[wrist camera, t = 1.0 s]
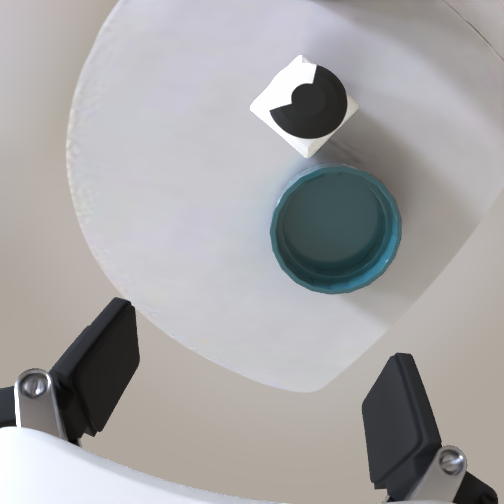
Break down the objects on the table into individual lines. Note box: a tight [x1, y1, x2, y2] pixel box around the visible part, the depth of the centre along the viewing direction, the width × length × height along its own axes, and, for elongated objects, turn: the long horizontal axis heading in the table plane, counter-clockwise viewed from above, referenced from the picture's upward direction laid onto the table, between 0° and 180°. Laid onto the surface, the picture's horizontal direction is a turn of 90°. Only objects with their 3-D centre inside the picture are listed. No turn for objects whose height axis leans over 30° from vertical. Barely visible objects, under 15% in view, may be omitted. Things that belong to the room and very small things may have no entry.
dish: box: [270, 162, 401, 294], centre depth 33 cm, size 14×14×4 cm
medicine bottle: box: [250, 55, 359, 158], centre depth 25 cm, size 7×7×12 cm
